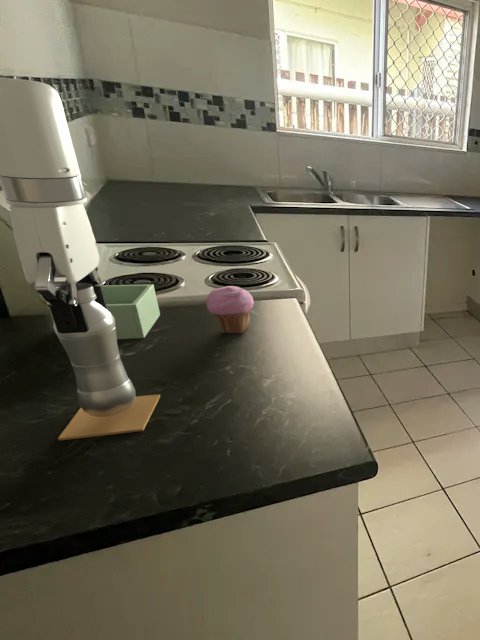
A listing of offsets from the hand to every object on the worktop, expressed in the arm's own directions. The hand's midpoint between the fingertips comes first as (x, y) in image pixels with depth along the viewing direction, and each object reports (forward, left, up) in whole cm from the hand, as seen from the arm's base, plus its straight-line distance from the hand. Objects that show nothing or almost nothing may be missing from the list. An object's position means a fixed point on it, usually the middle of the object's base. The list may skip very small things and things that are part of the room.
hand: (84, 320), depth 66 cm
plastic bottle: (0, 0, -15) cm, 15 cm away
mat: (0, 0, -16) cm, 16 cm away
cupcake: (+13, +31, -16) cm, 37 cm away
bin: (-10, +36, -16) cm, 41 cm away
